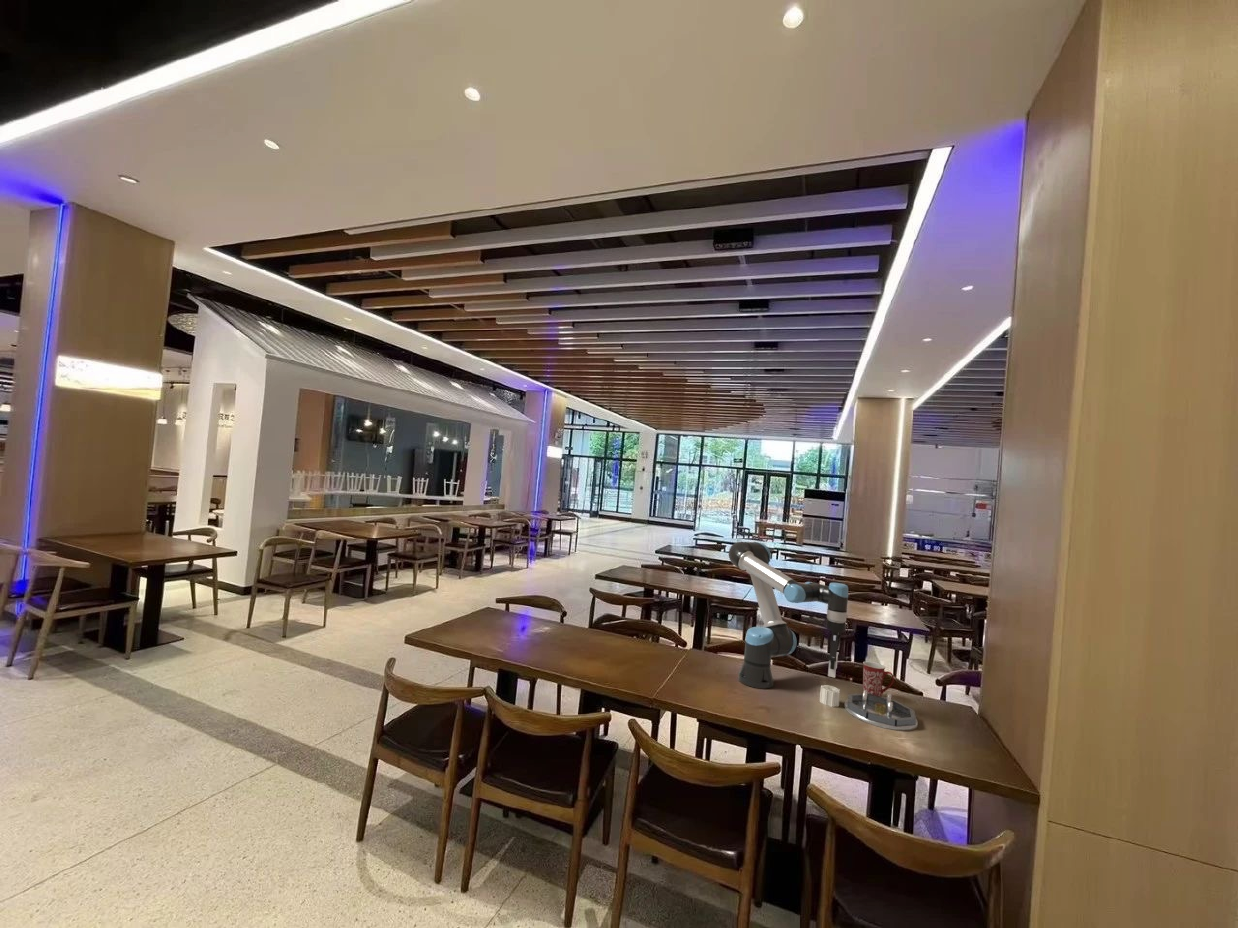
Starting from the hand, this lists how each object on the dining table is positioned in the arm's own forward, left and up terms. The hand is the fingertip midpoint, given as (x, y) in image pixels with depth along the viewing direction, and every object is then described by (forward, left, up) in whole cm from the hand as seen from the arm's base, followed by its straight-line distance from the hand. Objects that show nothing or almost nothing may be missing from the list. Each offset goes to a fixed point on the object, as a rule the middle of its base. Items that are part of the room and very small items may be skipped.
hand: (832, 672), depth 219 cm
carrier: (+19, +1, -13) cm, 23 cm away
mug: (+18, +23, -13) cm, 32 cm away
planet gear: (0, 0, -13) cm, 13 cm away
